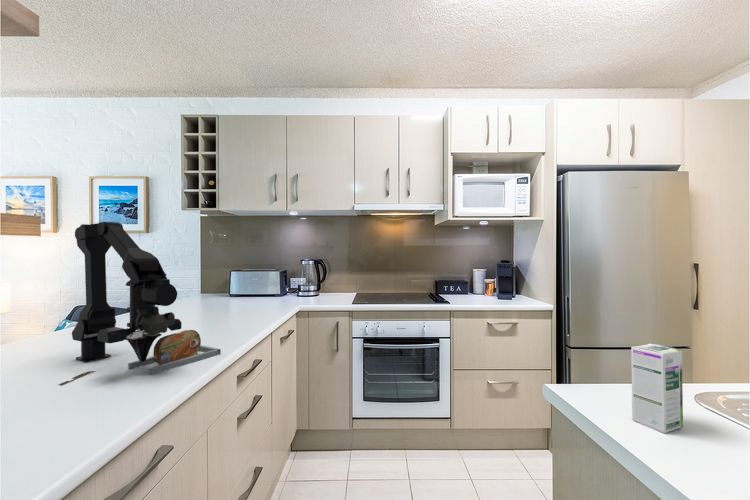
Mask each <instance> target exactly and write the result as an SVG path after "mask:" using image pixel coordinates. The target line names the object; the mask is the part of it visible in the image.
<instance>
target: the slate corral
mask: <svg viewBox="0 0 750 500" xmlns="http://www.w3.org/2000/svg"><path fill="white" fill-rule="evenodd" d="M198 352H201V353H199V354H198V353H197V354H196V355H194V356H190V357H187V358H183V359H180V360H176V361H173V362H169V363H166V364H162V365H159V364H158V365H155V366H152V367H149V368H147V375H149V376H153V375H156V374H158V373H159V374H160V373H162V372H165V371H170V370H172V369H175V368H179V367H182V366H186V365H188V364H189V365H190V364H192V363H195V362H198V361H201V360H205V359H208V358H211V357H215V356H220V355H221V348H216V347H211V346H206V345H202V344H201V345H200V349H199V351H198ZM155 363H156V362H155V360H154V356H150V357H147V358H146V360H145V361H144V362H140V361H139V360H135V361H131V362H128V363H127V367H128V368H127V369H128V370H134V369H137V368H140V367H145V366H148V365H151V364H155ZM156 364H157V363H156Z"/></svg>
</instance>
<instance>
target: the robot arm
mask: <svg viewBox="0 0 750 500" xmlns="http://www.w3.org/2000/svg"><path fill="white" fill-rule="evenodd" d="M74 230H75V231H74V237H75V239H76V246H77V247H78V249H79V250H80V251H81V252H82V254H83V255H84V274H85V275H84V276H85V277H84V278H85V305H84V307H83V308H82V309H81V311H80V312H79V314H78V315H79V316H78V321H77V322H76V325H75V326H74V328H73V330H72V332H71V338H72V340H73V341H77V342H80V356H77V357H75V360H76V361H80V362H83V363H89V362H94V361H97V360H101V359H106V358H110V357H112V355H111V354H109V353H106V344H114V343H119V342H124V341H127V342H128V343H129V345H130V346H131V347H132V349H133V351H134V353H135V356H136V357H137V359H138V361H140V362H144V361H145V360H146V358H148V355H149V352H150V350H151V348H152V345H153V344H154V341H155V340H156V339H158V338H159V337H161V336H162V334H165V333H167V332H168V329H169V330H170V331H171V332H172V331H179V330H181V329H182V324H183V323H182V321H181V319H179V318H175V313H174V312H172V311H170V312H165V313H162V314H161V313H160V311H159V306H161V307H169V306H171V305H172V304H174V303H175V302H176V300H177V298H178V291H177V289H176V287H175V286H174V285H173V284H171V283H170V282H171V281H170V278H167V273H166V272H165V271H164V268H163V267H162V265H161V264H162V263H160V261H159V259H158V257H156V256H155V255H154V254H152V253H151V252H148V251H146V250H144V249H141V248H140V246H138V244H137V243H136V242H135V241H134V239H133V238H132V237H131V236H130V235H129V234H128V232H127V231H125V229H124V225H123V224H122V223H120V222H119V221H117V222H116V221H104V220H103V221H101V222H97V223H90V224H86V223H83V224H80V226H79V227H76V229H74ZM111 247H112V249H113V250H114V251H115V252H116V253H117V255H119V257H120V258H121V260H122V264H121V265H122V266H121V268H122V270H123V272H124V273H125V275H126V276H127V277H128V278H129V280H128V281H127V282H126V283H125V286H127V287H129V306H128V307H126V311H127V312H129V322H127V323H126V327H127V328H123V327H117V326H116V325H117V319H116V309H115V307H111V306H110V305H109V303H108V298H107V297H108V296H107V295H108V293H107V267H106V265H107V264H106V261H107V260H106V259H107V258H106V255H107V252H109V250H110V249H111Z"/></svg>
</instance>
